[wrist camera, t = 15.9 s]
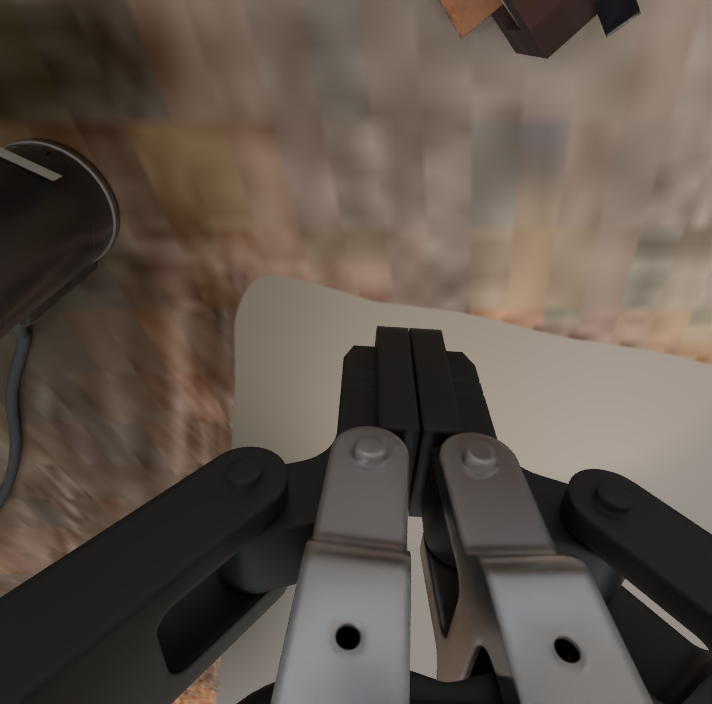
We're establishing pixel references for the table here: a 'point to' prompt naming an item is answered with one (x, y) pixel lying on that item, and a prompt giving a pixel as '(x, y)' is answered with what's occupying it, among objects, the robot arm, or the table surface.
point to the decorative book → (540, 19)
